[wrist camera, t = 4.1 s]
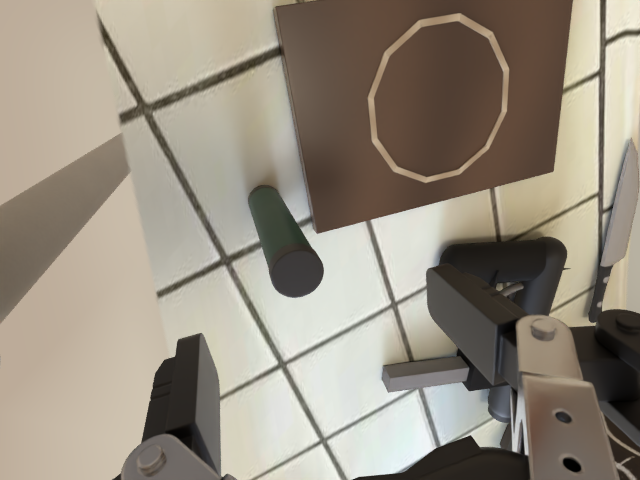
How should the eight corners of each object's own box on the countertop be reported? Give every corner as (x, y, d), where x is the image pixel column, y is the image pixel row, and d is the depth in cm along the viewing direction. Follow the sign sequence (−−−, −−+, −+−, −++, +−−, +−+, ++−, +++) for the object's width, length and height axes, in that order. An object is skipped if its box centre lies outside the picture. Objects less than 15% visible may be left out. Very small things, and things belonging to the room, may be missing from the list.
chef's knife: (652, 132, 33) (627, 137, 32) (667, 133, 32) (642, 138, 31) (604, 313, 40) (583, 320, 40) (615, 319, 39) (594, 326, 39)
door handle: (385, 446, 35) (531, 420, 39) (411, 254, 28) (591, 243, 31) (373, 417, 38) (510, 396, 42) (394, 237, 31) (560, 229, 34)
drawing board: (313, 229, 27) (317, 234, 26) (272, 9, 21) (275, 6, 20) (544, 169, 31) (554, 172, 30) (564, -35, 25) (579, -39, 24)
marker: (251, 220, 26) (277, 304, 16) (243, 188, 25) (265, 258, 15) (283, 212, 26) (327, 289, 17) (277, 180, 25) (319, 244, 16)
